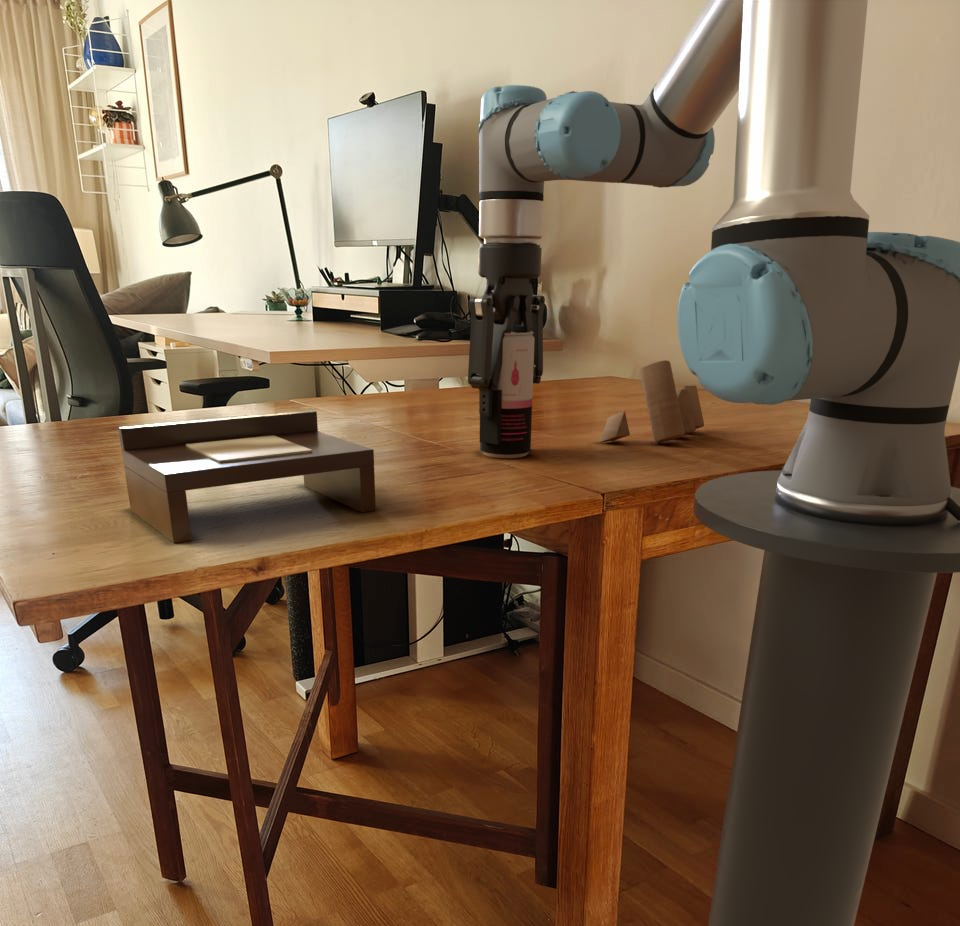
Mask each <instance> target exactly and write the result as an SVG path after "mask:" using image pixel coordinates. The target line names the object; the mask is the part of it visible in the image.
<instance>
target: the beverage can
mask: <svg viewBox="0 0 960 926" xmlns="http://www.w3.org/2000/svg"><path fill="white" fill-rule="evenodd" d="M532 334H533V331H528V332H526V333H522V332H520V333H515V332H511V333H504V335H505V336H504V338H503V357H502V367H501V372H500V377H499V383H498V387H497V390H502V409H501V444H491V443H484V442H480V441H479V450H480V452H481V453H482V454H483V455H484V456H486V457H489V458H497V459H516V458H523V457H526V456H527V455H528V454H529V453H530V452H531V447H532V418H533V390H534V389H533V388H534V383H533V366H535V365H534V337H533V335H532ZM490 379H491V377H490Z"/></svg>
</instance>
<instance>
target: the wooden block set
mask: <svg viewBox="0 0 960 926" xmlns="http://www.w3.org/2000/svg"><path fill="white" fill-rule="evenodd" d="M671 364H672V363H671V362H670V361H669V360H659V361H655V362H652V363H649V364H647V365H644V366H643V367H641V368H640V370H639V373H640V379H641V384H642V389H643V392H644V397H645V403H646V407H647V412H648V417H649V421H650V427H651V431H652V437H653V441H654V443H656V444H660V443H666V442H670V441H673V440H676V439H679V438H682V437H684V436H686V435H689V434H692V433H695V432H696V431H697V430H699V429H700V428H703V427H705V422H704V417H703V411H702V407H701V401H700V397H699V392H698V387H697V385H695V384H693V385H692V384H691V385H683V386H680V387H677V388H676V384H675V380H674V375H673V369H672V366H671ZM601 434H602V435H601V436H600V439H599V443H607V442H616V441H618V440H620V439H623V438H627V437H629V436H630V435H631V433H630V428H629V424H628V418H627V414H626V411H625V410H623V411H621V412H618V413H616V414H612V415H610V416H608V418H607V419H606V423H605V426H604V429H603V431H602V433H601Z"/></svg>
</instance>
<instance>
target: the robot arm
mask: <svg viewBox="0 0 960 926" xmlns="http://www.w3.org/2000/svg"><path fill="white" fill-rule="evenodd" d="M868 3H869V0H706V2H705V3H704V5H703V7H702V9H701V10H700V12H699V13H698V15H697V17H696V18H695V20H694V21H693V23H692V25H691V26H690V27H689V30H688V31H687V33H686V34H685V36H684V38H683V40H682V41H681V43H680V44H679V45H678V48H677V49H676V51H675V53H674V54H673V56H672V57H671V59H670V61H669V62H668V64H667V66H666V67H665V69H664V71H663V72H662V74H661V75H660V77H659V79H658V80H657V82H656V83H655V85H654V86H653V88H652V89H651V91H650V93H648V95H647V97H646V99H645V100H644V102H643V103H641V104H635V103H634V104H632V103H625V102H624V103H622V102H615V101H609V100H608V98H607V97H605V96H604V95H603V94H602V93H600V92H598V91H595V90H594V91H593V90H584V91H575V90H572V91H567V92H564V93H563V94H559V95H557V96H556V97H551V98H549V99H547V98H548V97H547V94H546V92H545V91H544V90H543V89H541V88H539V87H537V86H531V85H522V84H521V85H520V84H507V85H504V86H494V87H491V88H489V89H487V90H486V91H485V92H484V93H483V94H482V96H481V100H480V119H479V123H478V179H479V180H478V181H479V182H478V190H479V191H478V193H479V214H478V219H479V221H478V236H479V238H480V239H483V243H480V244H479V246H478V255H477V256H478V257H477V259H478V262H477V266H478V267H477V268H478V269H477V270H478V271H477V273H478V276H479V277H481V278H482V279H483V278H484V279H486V284H485V288H484V292H483V295H482V296H471V297H470V298H469V302H468V305H469V311H470V332H469V333H470V334H469V350H468V351H469V352H468V368H467V369H468V371H467V383H468V384H469V385H470V386H471V388H472V389H477V390H478V392H479V395H478V398H479V399H478V400H479V402H478V404H479V405H478V407H479V408H478V413H479V443H480V442H484V443H491V444H501V409H502V390H497V387H498V383H499V377H500V372H501V367H502V357H503V338H504V336H505V335H504V333H511V332H515V333H520V332H522V333H526V332H528V331H533V334H532V335H533V337H534V366H533V384H537V385H538V384H540V383H541V381H542V376H543V374H544V310H545V305H546V297H545V295H536V294H534V292H533V286H532V279H538V278H540V276H541V275H542V249H543V248H542V247H541V245H540V244H538V240H541V239H542V238H543V235H544V234H543V231H544V194H545V193H544V192H545V182H553V181H577V182H591V183H592V182H593V183H609V184H610V183H611V184H628V185H640V186H650V187H651V186H652V187H655V188H660V189H661V188H672V187H686V186H691V185H693V184H694V183H696V182H697V181H699V180H700V179H701V178H702V177H703V176H704V174H705V173H706V171H707V170H708V168H709V166H710V162H709V161H710V160H711V156H712V155H713V154H714V152H715V151H714V150H715V142H716V141H715V140H716V139H715V130H714V127H713V126H714V125H715V123H717V121H718V119H720V117H721V115H722V114H723V112H725V110H726V108H727V107H728V106H729V104H730V103H731V102H732V100H733V99H734V98H735V96H736V95H737V93H738V98H737V99H738V102H737V120H736V122H737V123H736V138H735V157H734V158H735V159H734V160H735V161H734V178H733V197H732V203H731V204H730V207H729V208H728V210H727V211H726V212H725V213H724V214H723V215H722V217H721V218H720V219H719V220H718V221H717V222H716V223H715V224H714V225H713V226H712V228H711V243H710V251H709V252H707V253H706V254H705V255H703V256H702V257H700V258H699V259H698V260H697V261H696V262H695V264H693V266H692V267H691V269H690V271H689V273H688V277H689V281H688V282H685V283H683V285H682V288H681V291H680V295H679V298H678V303H677V315H676V318H677V319H676V323H677V324H676V327H677V334H678V341H679V346H680V350H681V353H682V356H683V359H684V361H685V364H686V366H687V368H688V369H689V371H690V373H691V374H692V375H694V376H696V378H697V380H698V382H699V385H701V387H702V388H703V389H704V390H706V391H707V392H708V393H710V394H711V395H713V396H714V397H715V398H717V399H720V400H723V401H726V402H729V403H734V404H735V403H736V404H755V405H757V406H758V405H767V406H775V405H779V404H782V403H784V402H791V401H805V400H810V402H809V407H808V408H809V410H808V414H807V419H806V422H805V424H804V425H803V428H802V430H801V432H800V434H799V436H798V438H797V440H796V442H795V444H794V446H793V448H792V450H791V451H790V454H789V456H788V458H787V459H786V462H785V464H784V465H781V466H782V467H781V469H780V470H781V473H780V476H779V478H778V482H777V489H776V495H775V498H776V500H777V502H779V503H780V504H781V505H783V506H784V507H786V508H788V509H791V510H793V511H796V512H799V513H802V514H805V515H809V516H813V517H817V518H822V519H827V520H832V521H838V522H844V523H852V524H861V525H872V526H919V525H927V524H932V523H936V522H939V521H942V520H944V519H945V518H946V517H947V515H948V512H949V513H950V514H952V515H953V516H954V517H955V518H956V519H957V520H958V521H959V520H960V506H958V505H957V504H956V503H955V502H954V501H953V500H952V499H951V498H952V494H951V487H952V484H951V476H950V468H949V460H948V450H947V443H946V435H945V429H946V423H947V418H948V414H949V410H950V404H951V402H952V396H953V393H954V388H955V383H956V378H957V375H958V371H959V366H960V241H957V240H953V239H949V238H945V237H939V236H933V235H918V234H914V233H907V232H891V231H890V232H889V231H888V232H887V231H886V232H885V231H869V226H870V215H869V213H867V211H866V210H865V209H864V208H863V207H862V205H860V204H859V203H858V202H857V201H856V199H854V197H853V194H852V192H851V189H852V188H851V187H852V177H853V169H854V168H853V167H854V166H853V165H854V157H855V155H854V154H855V143H856V133H857V123H858V112H859V101H860V91H861V78H862V67H863V57H864V47H865V35H866V24H867V23H866V22H867V15H868V14H867V13H868ZM490 377H491V379H490Z"/></svg>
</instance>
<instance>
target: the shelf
mask: <svg viewBox="0 0 960 926" xmlns="http://www.w3.org/2000/svg"><path fill="white" fill-rule="evenodd" d="M117 429H118V436H119V443H120V448H121V456H122V461H123V463H122V464H123V468H124V475H125V481H126V482H125V483H126V488H127V494H128V501H129V509H130V511H131V512H132V513H133V514H134V515H136V516H138V517H139V518H140V519H142V520H143V521H144V522H145V523H147V524H148V525H149V526H150V527H152V528H153V529H155V530H156V531H157V532H159V533H160V534H161V535H163V536H164V537H165V538H167V539H168V540H169V541H170V542H172V543H173V544H175V543H176V544H177V543H183V542H188V541H192V540H193V539H192V529H191V522H190V514H189V506H188V498H187V491H191V490H200V489H207V488H216V487H223V486H231V485H237V484H247V483H254V482H261V481H268V480H276V479H284V478H285V479H286V478H292V477H299V476H303V487H304V488H307V489H310V490H312V491H313V492H316V493H318V494H320V495H322V496H324V497H327V498H329V499H331V500H334V501H335V502H338V503H340V504H341V505H342V504H343V505H345V506H346V507H349V508H351V509H353V510H355V511H358V512H360V513H366V512H373V511H376V510H377V507H376V506H377V505H376V504H377V503H376V502H377V501H376V480H375V479H376V475H375V450H374V448H371V447H367V446H365V445H362V444H357V443H355V442H353V441H349V440H346V439H343V438H340V437H337V436H335V435H331V434H328V433H326V432H322V431H319V425H318V412H317V410H313V409H312V410H303V411H302V410H301V411H291V412H278V413H267V414H256V415H245V416H244V415H243V416H233V417H232V416H231V417H222V418H211V419H200V420H187V421H176V422H175V421H174V422H165V423H153V424H142V425H132V426H131V425H129V426H118V427H117Z"/></svg>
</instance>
